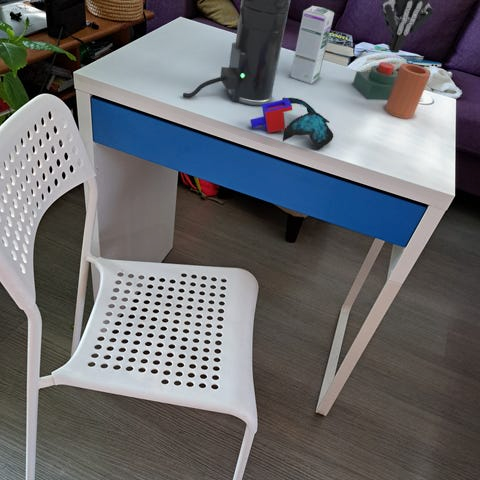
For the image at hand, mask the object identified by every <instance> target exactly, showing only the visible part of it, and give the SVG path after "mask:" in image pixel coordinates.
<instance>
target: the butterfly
mask: <svg viewBox="0 0 480 480" xmlns="http://www.w3.org/2000/svg"><path fill="white" fill-rule="evenodd" d="M287 98H288V99H289V101H290V103H291V105H292V104H293V105H295V104H296V105H300V107H303V108H306V112H307V113H305V114H301V115H300V116H299V117H297V118H295V119H293V120H292V121H291V122H290V123H289V124H288V125H286V126H285V129H284V130H283V133H282V134H283V135H282V142H285V141H287V140H288V139H290V138H292V137H295V136H309V139H310V141H311V144H312V145H313V147H314V148H315V149H316V150H317V151H319V150H320V149H322V148H324V147H325V146H327V145H328V144H329V143H331V142H332V140H333V139H334V133H333V131H332V130H331V129H330V127H329V126H328V124H330V121H329V120H328V119H327V118H325V117H324V116H323V115H322V114H320V113H319V112H317V111H316V110H315V109H314V108H313V107H312V106H311V105H310V104H309V103H308V102H306V101H304V100H303V99H300V98H297V97H282V99H281V100H283V99H287ZM327 123H328V124H327Z"/></svg>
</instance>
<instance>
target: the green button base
mask: <svg viewBox="0 0 480 480" xmlns="http://www.w3.org/2000/svg"><path fill="white" fill-rule="evenodd" d="M378 66H379V65H373V66H371V67H370V70H369V71H361V70H360V71H359V70H357V71H356V72H355V76H354V79H353V81H352V86H353V87H354V88H356V90H358V91H359V92H360V94H362V95H363V96H364V97H365V99H367V100H388V99H389V96H390V93H391V90H392V88H393V85H394V82H395V79H396V77H397V74H398V72H397V71H396V70H395V69H393V72H392V75H386V74H382V73H380V72H378V71H377V69H378Z"/></svg>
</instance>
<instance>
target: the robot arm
mask: <svg viewBox="0 0 480 480" xmlns="http://www.w3.org/2000/svg"><path fill="white" fill-rule="evenodd" d="M430 1H431V0H387V1H381V3H380V7H381V11H382V15H383V19H384V23H385V26H386V28H387V29H389V30H390V31H391V36H390V39H389V42H388V45H387V48H388V50H389V51H390V52H391V53H395V54H397V53H400V51H401V50H402V48H403V46H404V43H405V40H406V37H407V36H408V35H409V34H411V33H412V34H415V33H416V32H417V31H418V30H419V29H421V27H422V26H423V25H424V24H425V23H426V22H427V21H428V20H429V19H430V18H431V17H432V16H433V15H434V14H435V8H432V7H431V4H430ZM291 2H292V1H291V0H241V1H240V7H239V15H238V22H237V29H236V37H235V41H234V42H232V43H231V50H230V57H229V66H228V67H227V66H222V67H221V69H220V76H219V77H216V78H211V79H209V80H206V81H204V82H202V83H201V84H200V85H198V86H197V87H196V88H195V89H194V90H193V91H192V92H189V93H188V92H183V93H182V96H183V98H188V99H189V98H190V99H191V98H193V97H195V96H196V95H198V93H199V92H200V91H201V90H203V89H204V88H206V87H208V86H210V85H213V84H216V83H217V84H218V83H220V82H221V83H222V85H223V86H224V88H225V90H226V92H227V94H228V95H229V97H230V98H231V100H232V102H237V103H242V104H245V105H249V106H250V105H251V106H262V104H267V103H271V102H272V99H273V91H274V86H275V79H276V74H277V69H278V64H279V60H280V55H281V49H282V44H283V39H284V35H285V30H286V26H287V25H286V24H287V19H288V14H289V10H290V5H291Z"/></svg>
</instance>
